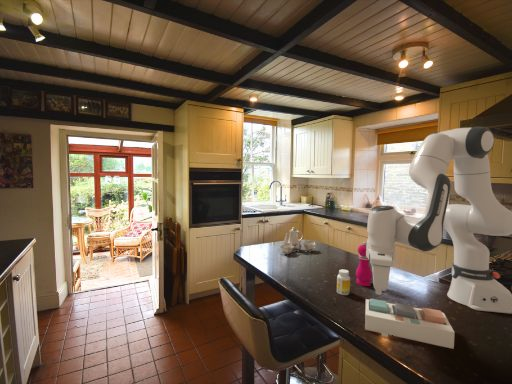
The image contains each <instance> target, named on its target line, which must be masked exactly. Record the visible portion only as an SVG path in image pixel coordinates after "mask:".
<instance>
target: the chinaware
mask: <svg viewBox="0 0 512 384" xmlns="http://www.w3.org/2000/svg"><path fill="white" fill-rule="evenodd" d="M288 231H289V233H288ZM288 231H284V233H285V237H284V240H283V244H281V245H280V246H279V248H278V252H280V249H281V252H282V254H284V255H285V254H291V253H293V252H292V251H298V252H300V251H299V250H301V249H302V244H303V246H304V248H305V250H306V251H307V252H308V251H309V252H308V253H312V252H313V251H314V250H315V249H316V247H317V244H316V242H310V241H305V242H303V243H302V239H304V233H303V231H300V230H297V229H296V228H295V226H293V227H292V228H291V229H289V230H288ZM300 233H301V238H298V237H299V234H300ZM301 243H302V244H301ZM311 251H312V252H311Z"/></svg>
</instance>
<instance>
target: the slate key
mask: <svg viewBox="0 0 512 384" xmlns="http://www.w3.org/2000/svg"><path fill="white" fill-rule="evenodd" d="M394 304H395V314H396V316H401V317H406V318H411V319H415V311H414V308H415V307H414V306H413V305H411V304H410V305H409V304H404V303H398V302H394Z"/></svg>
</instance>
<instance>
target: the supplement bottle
mask: <svg viewBox="0 0 512 384" xmlns="http://www.w3.org/2000/svg"><path fill="white" fill-rule="evenodd" d="M350 291H351V276H350V271H349V270H348V269H339V270H338V274H337V277H336V293H337V294H339V295H342V296H349V294H350Z"/></svg>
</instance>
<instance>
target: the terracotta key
mask: <svg viewBox="0 0 512 384" xmlns="http://www.w3.org/2000/svg"><path fill="white" fill-rule="evenodd" d="M421 309H422V318H423V321H427V322H432V323H437V324H442V325H445V318H444V316H443V314H442V313H443V312H442V311H441V310H438V309H433V308H428V307H421Z"/></svg>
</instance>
